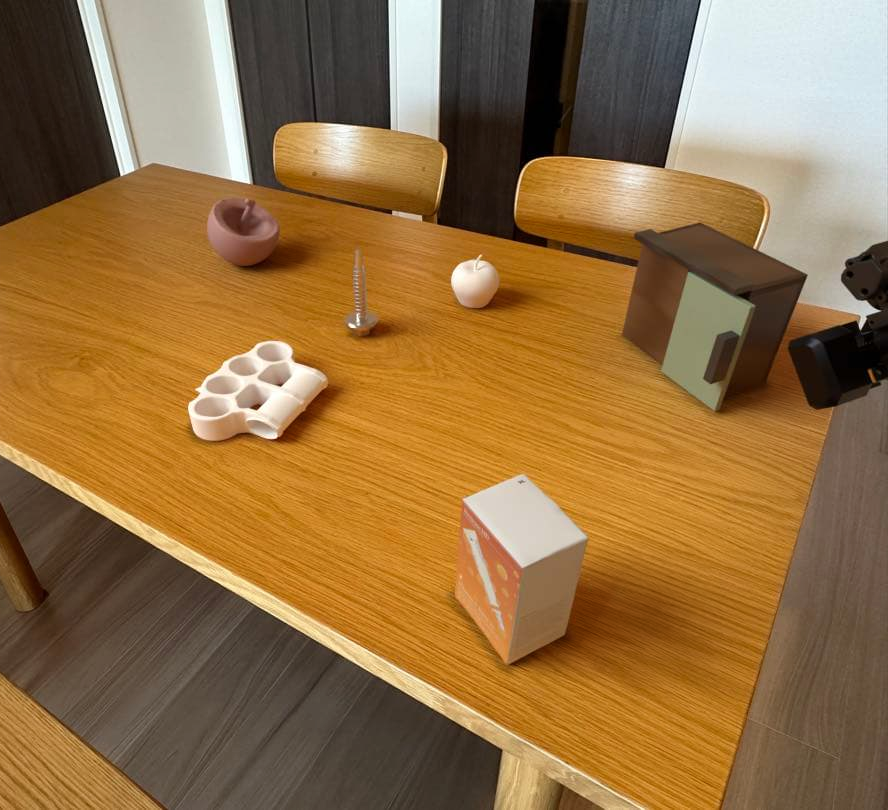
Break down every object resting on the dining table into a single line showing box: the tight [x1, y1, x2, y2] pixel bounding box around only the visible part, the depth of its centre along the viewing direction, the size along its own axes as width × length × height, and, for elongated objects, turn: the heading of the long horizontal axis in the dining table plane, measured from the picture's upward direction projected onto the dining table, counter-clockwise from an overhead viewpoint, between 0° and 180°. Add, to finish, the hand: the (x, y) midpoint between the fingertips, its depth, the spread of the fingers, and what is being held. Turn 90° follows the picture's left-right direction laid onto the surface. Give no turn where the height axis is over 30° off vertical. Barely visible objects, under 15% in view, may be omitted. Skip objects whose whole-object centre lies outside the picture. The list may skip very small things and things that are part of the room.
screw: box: [343, 248, 379, 338], centre depth 96 cm, size 13×5×5 cm
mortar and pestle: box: [206, 197, 280, 267], centre depth 116 cm, size 12×12×11 cm
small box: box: [454, 473, 589, 666], centre depth 58 cm, size 8×6×13 cm
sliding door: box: [660, 271, 756, 412], centre depth 80 cm, size 9×3×14 cm, turn 21°
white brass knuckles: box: [187, 340, 329, 442], centre depth 87 cm, size 3×18×15 cm
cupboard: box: [621, 222, 809, 398], centre depth 85 cm, size 16×10×16 cm, turn 21°
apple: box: [450, 254, 500, 309], centre depth 103 cm, size 7×7×8 cm
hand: (807, 367), depth 67 cm, fingers closed
